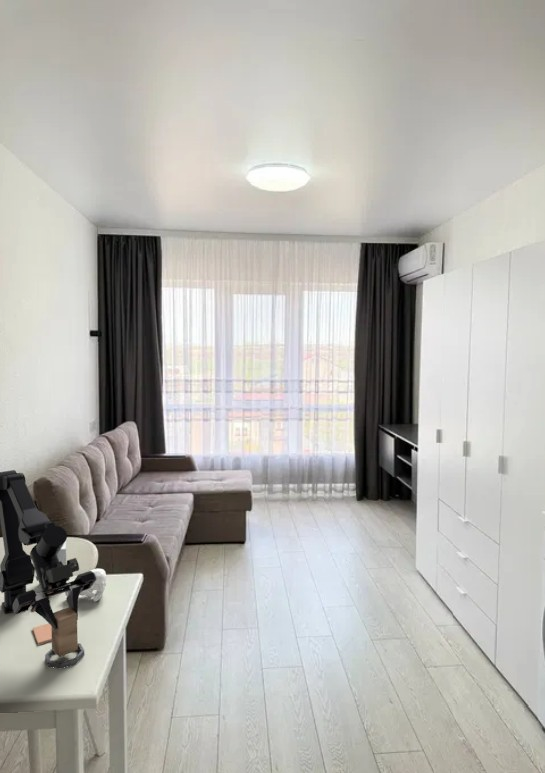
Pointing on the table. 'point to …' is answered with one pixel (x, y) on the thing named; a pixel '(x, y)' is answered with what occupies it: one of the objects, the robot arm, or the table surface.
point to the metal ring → (65, 663)
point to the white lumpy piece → (96, 585)
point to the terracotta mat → (43, 633)
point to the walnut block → (65, 632)
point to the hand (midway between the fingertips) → (66, 624)
